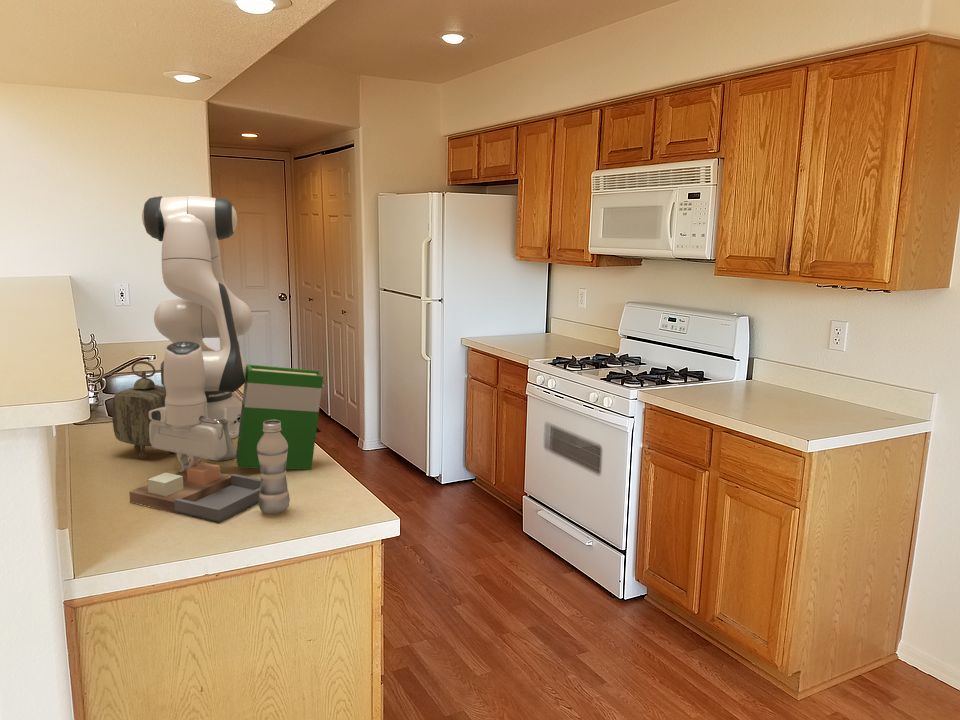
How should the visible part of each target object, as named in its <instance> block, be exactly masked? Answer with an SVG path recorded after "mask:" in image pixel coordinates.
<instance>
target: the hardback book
mask: <svg viewBox="0 0 960 720" xmlns="http://www.w3.org/2000/svg"><path fill="white" fill-rule="evenodd" d="M245 365H246V370H247V375H246V380H245V383H244V384H243V392H242V401H241V402H242V409H241V417H240V426H239V435H238V436H237V437H238V438H237V444H236V457H235V460H236V464H237V468H247V469H248V468H250V469H251V468H253V469H260V464H259V459H258V454H257V444H258V442H259V440H260V439H261V437H262V436H263V434H264V432H263V422H264V421H268V420H279V421H281V431H280V433H281V434H282V435H283V437H284V438H285V440H286V441H287V444H288V452H287V461H286V470H307V471H308V470H309V471H310V469H311V470H312V467H313V461H314V460H313V458H314V452H315V451H314V450H315V442H316V435H317V428H318V423H319V422H318V421H319V414H320V405H321V397H322V390H323V381H324V375H319V372H320V371H319V370H315V369H307V368H306V369H303V368H293V367H280V366H269V365H258V364H245Z"/></svg>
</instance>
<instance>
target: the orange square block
mask: <svg viewBox="0 0 960 720" xmlns="http://www.w3.org/2000/svg"><path fill="white" fill-rule="evenodd" d="M220 468H221V465H218V464H213V463H208V462H200V463H198V464H197V465H195V466H192V467H190V468H187V481H188V482H193V483H197V484H202V485H205V484H208V483H210V482H212V481H215V480H217V479H219V478H220V473H221V469H220Z"/></svg>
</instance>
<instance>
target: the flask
mask: <svg viewBox="0 0 960 720" xmlns="http://www.w3.org/2000/svg"><path fill="white" fill-rule="evenodd" d="M218 421H219V422H220V423H221V424H222V425H223V430H224V434H225V439H226V446H227V453H226V455H225V456H224V457H223V458H220V459H218V460H216V461H219V462H221V461H223V462H224V461H229V460H233V459H236V452H237V448H236V447H235V445H234V443H233V440H232V438H230V435H229V431H228V422H229V420H228V419H218ZM217 424H218V423H217Z"/></svg>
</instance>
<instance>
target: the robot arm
mask: <svg viewBox="0 0 960 720" xmlns="http://www.w3.org/2000/svg"><path fill="white" fill-rule="evenodd" d="M143 205H144V206H143V208H142V212H141V220H142V224H143V226H144V229H145V232H146V234H148V235H149V236H150V237H151V238H153V239H156V240H157V241H159V242H162V243H161V245H162V246H161V272H162V273H161V274H162V280H163V284H164V286H165V287H166V288H167V290H169V291H170V293H172V294H173V295H175V296H177V298H175V299H170V300H164V301H161V302H160V303H159V304H158V306H157V307H156V309H155V310H154V313H153V314H154V315H153V322H154V326H155V327H156V330H157V331H158V333H160V334H161V335H162V336H163V337H165V338H167V339H168V340H169V341H170V342H171V343H170V344H169V345H167V346H166V347H165V350H164V356H163V357H164V358H163V361H162V362H161V363H160V378H161V379H160V380H161V386H164V387H165V388H166V398H165V406H163V407H160V408H157V409H154V410H151V411H149V419H150V420H152V421H151V422H150V424H149V437H150V443H151V445H152V446H151V447H152V448H153V449H155V450H161V451H166V452H169V451H170V452H175V453H176V458H177V460H178V461H179V463H180V465H181V471H183V472H187V468H190V467H192V466H195V465H198V464H199V461H200V460H201V459H204V460H211V461H217V460H218V459H220V458H223V457H224V456H225V455H226V453H227V446H226V439H225V434H224V430H223V425H222V424H221V423H220V422H219V421H218V419H228V420H229V422H228V431H229V435H230V438H231V439H236V438H237V437H238V435H239V426H240V417H241V409H242V401H241V400H239V399H238V398H236V397H235V396H233V393H234V392H237V391H238V390H239V389H240V388H242V387H243V386H244V383H245V380H246V375H247V370H246V365H247V364H246V361H245V359H244V356H243V353H242V351H241V347H240V344H239V343H240V342H239V336H244V335H246V334H247V333H248V332H249V330H251V329H250V328H251V327H252V325H253V313H252V310H251V308H250V307H249V305H248V303H246V302H245V301H243V300H241V298H239V297H237V296H236V295H235V294H234V293H233V292H232V291H231V290H230V288H229V287H228V285H227V284H226V281H225V279H224V276H223V268H222V263H221V261H222V260H221V251H220V250H221V249H220V244H219V243H220V242H219V241H221V240H226V239H229V238H231V237H232V236H233V235H234V234H235V230H236V229H237V225H238V215H237V211H236V209H235V207H234V203H232V201H230V200H229V199H227V198H223V197H220V196H219V197H218V196H216V197H211V196H204V195H203V196H202V195H190V194H189V195H188V196H187V195H185V196H184V195H177V196H164V197H163V196H154V197H150V198H148V199H147V200H146V201H145V202H144V204H143ZM211 338H212V339H215V338H216V339H220V342H221V348H220V349H218V350H215V349H213V348H211V347H208V346H207V345H206V344H205V342H204V340H203V339H211ZM217 423H218V424H217ZM175 453H174V454H175ZM189 460H190V461H189Z"/></svg>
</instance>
